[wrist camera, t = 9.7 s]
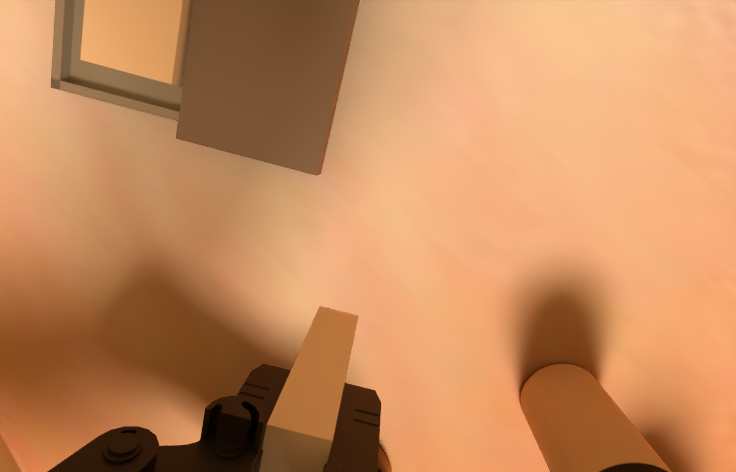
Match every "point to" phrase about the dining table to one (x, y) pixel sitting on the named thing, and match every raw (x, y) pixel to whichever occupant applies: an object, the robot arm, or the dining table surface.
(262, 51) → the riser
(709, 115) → the dining table surface
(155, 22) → the coaster
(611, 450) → the travel mug
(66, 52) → the tray
